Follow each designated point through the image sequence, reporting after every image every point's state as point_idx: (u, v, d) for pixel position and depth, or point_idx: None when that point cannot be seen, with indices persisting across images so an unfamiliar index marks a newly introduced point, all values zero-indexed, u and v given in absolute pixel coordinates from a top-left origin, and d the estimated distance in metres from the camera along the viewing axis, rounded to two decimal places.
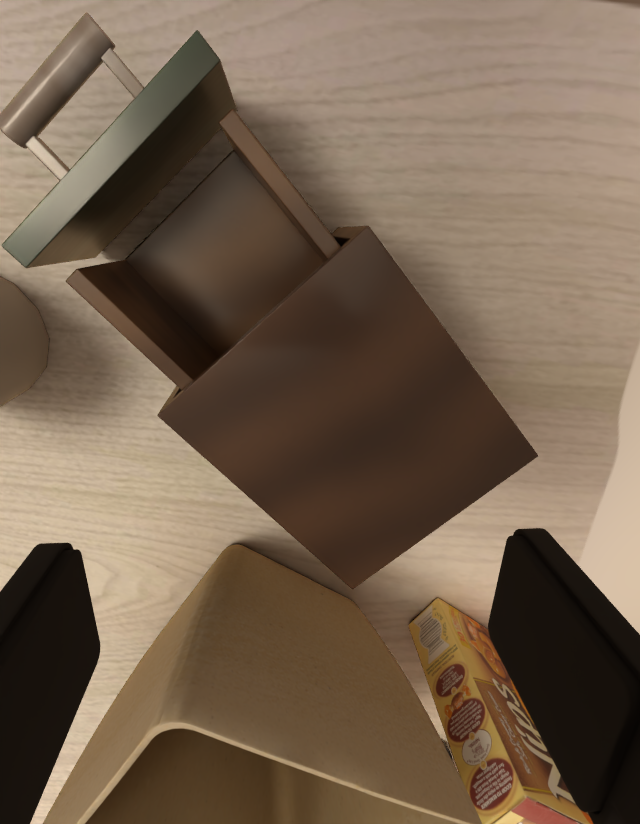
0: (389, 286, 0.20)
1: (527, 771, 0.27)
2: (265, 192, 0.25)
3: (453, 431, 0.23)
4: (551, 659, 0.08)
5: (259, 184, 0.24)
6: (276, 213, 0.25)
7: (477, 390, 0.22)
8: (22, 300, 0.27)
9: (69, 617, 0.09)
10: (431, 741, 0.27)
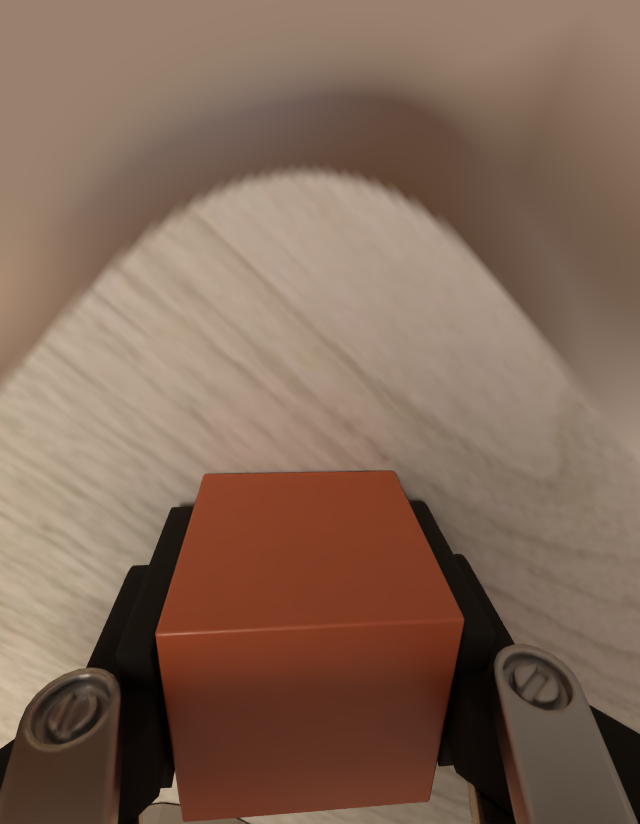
0: None
1: None
2: None
3: None
4: None
5: None
6: None
7: None
8: None
9: None
10: None
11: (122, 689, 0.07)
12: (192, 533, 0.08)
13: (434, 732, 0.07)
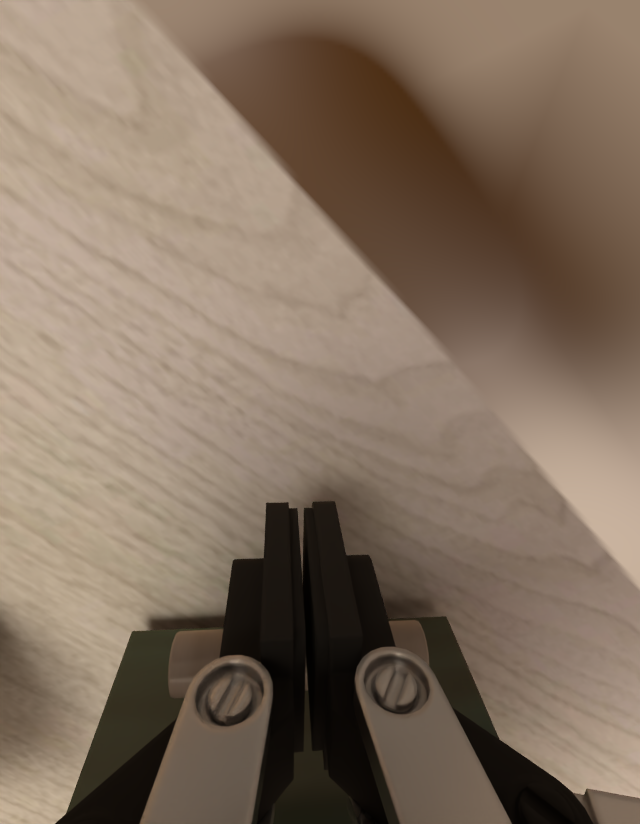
0: None
1: None
2: None
3: None
4: (309, 617, 0.09)
5: None
6: None
7: None
8: None
9: None
10: None
11: None
12: None
13: None
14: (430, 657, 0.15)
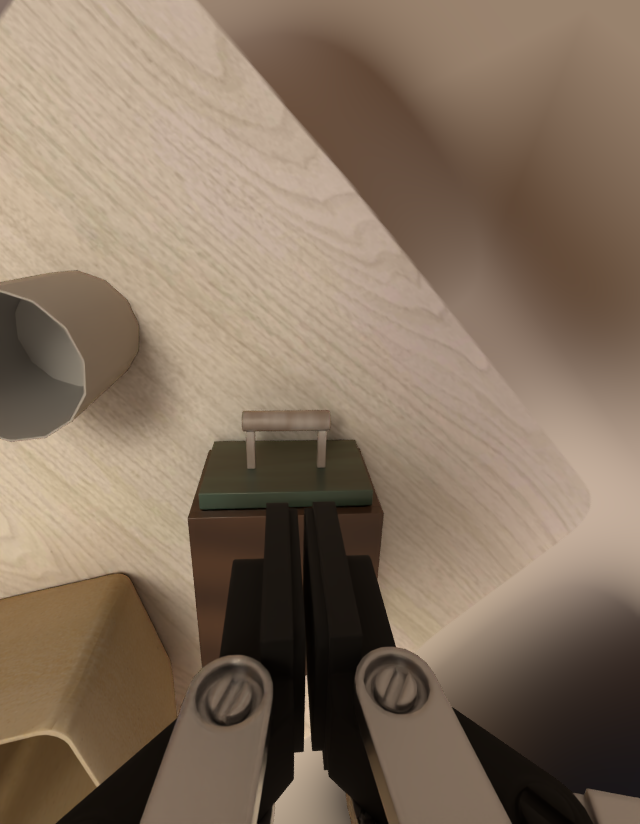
0: (369, 545, 0.30)
1: None
2: None
3: None
4: (309, 617, 0.09)
5: None
6: None
7: None
8: (136, 341, 0.33)
9: None
10: None
11: None
12: None
13: None
14: (343, 449, 0.35)
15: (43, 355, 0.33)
